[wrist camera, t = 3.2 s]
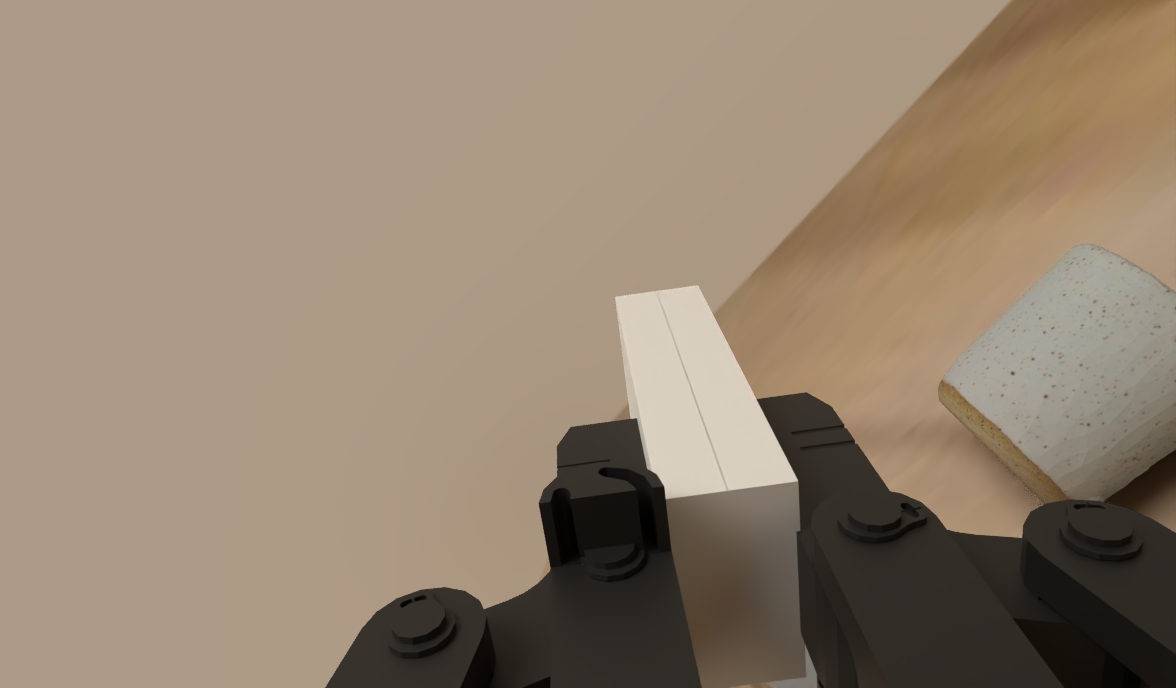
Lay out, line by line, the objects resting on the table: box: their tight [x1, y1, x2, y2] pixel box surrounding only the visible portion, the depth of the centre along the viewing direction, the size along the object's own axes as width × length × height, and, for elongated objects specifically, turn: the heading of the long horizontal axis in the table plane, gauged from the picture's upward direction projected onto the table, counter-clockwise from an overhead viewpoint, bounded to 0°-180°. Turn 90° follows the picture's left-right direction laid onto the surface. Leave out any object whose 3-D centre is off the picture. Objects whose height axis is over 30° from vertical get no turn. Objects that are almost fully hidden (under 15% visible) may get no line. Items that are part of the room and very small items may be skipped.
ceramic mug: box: [938, 244, 1176, 504], centre depth 30 cm, size 11×8×8 cm
